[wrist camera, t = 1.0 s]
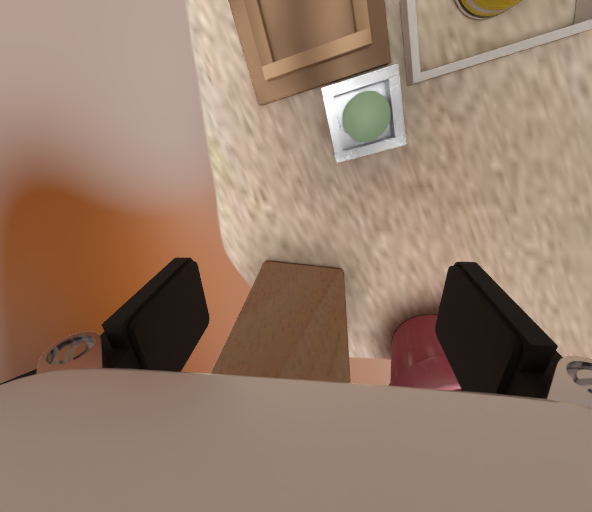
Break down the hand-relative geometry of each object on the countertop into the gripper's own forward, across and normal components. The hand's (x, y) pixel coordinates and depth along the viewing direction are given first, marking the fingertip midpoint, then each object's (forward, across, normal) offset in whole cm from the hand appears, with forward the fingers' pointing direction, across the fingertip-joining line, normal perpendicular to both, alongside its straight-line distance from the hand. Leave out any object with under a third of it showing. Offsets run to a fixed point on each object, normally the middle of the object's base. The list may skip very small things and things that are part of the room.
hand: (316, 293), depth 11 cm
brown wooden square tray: (+22, +2, -14) cm, 26 cm away
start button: (+18, -3, -6) cm, 20 cm away
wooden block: (+22, +3, +15) cm, 27 cm away
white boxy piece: (+22, -3, -6) cm, 22 cm away
